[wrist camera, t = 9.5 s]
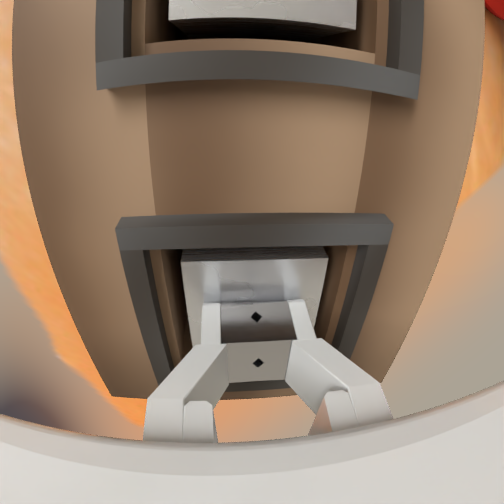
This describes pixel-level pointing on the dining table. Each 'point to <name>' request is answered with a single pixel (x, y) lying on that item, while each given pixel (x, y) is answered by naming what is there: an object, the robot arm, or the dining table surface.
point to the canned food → (495, 7)
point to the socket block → (242, 166)
